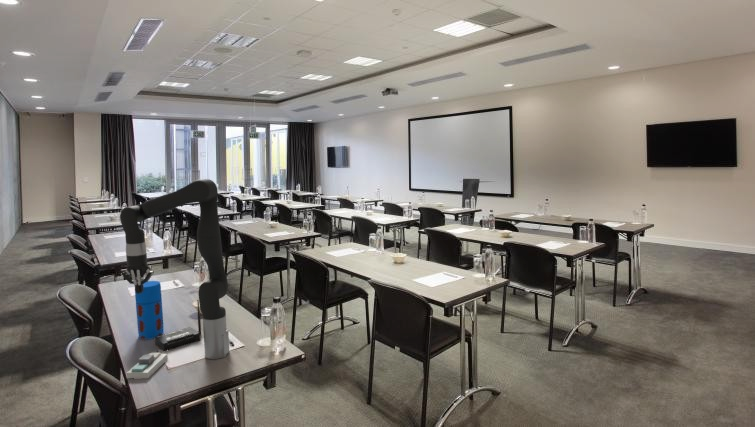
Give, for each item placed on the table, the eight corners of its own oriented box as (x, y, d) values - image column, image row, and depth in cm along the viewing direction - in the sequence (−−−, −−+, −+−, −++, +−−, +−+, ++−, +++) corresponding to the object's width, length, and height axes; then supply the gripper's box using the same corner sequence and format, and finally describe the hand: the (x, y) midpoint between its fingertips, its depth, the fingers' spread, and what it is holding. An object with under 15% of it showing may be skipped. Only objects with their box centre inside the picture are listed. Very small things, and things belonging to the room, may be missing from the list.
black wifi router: (165, 353, 187) (162, 315, 185) (153, 344, 197) (151, 307, 194) (210, 339, 201) (208, 304, 199) (197, 331, 211) (195, 297, 209)
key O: (148, 371, 170) (147, 364, 170) (142, 376, 166) (142, 368, 166) (137, 371, 170) (137, 364, 169) (132, 376, 166) (131, 369, 166)
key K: (160, 359, 180) (160, 352, 179) (155, 364, 176) (155, 357, 175) (150, 359, 180) (150, 352, 179) (145, 364, 176) (145, 357, 175)
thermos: (150, 340, 200) (147, 288, 196) (133, 337, 203) (129, 286, 200) (169, 331, 210) (165, 281, 207) (151, 329, 213) (148, 280, 210)
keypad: (167, 359, 181) (167, 353, 181) (148, 378, 165) (147, 372, 165) (148, 359, 181) (148, 353, 180) (127, 378, 165) (126, 372, 165)
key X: (154, 361, 175) (153, 354, 174) (149, 366, 171) (148, 359, 170) (144, 361, 175) (143, 354, 174) (139, 366, 171) (138, 359, 170)
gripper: (156, 251, 185) (159, 290, 187) (125, 251, 185) (128, 290, 187) (147, 255, 177) (150, 295, 180) (115, 255, 177) (118, 296, 179)
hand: (139, 293), depth 183 cm, fingers closed
